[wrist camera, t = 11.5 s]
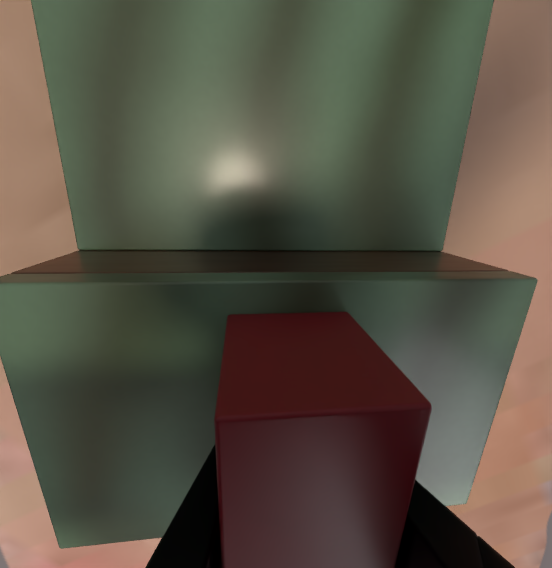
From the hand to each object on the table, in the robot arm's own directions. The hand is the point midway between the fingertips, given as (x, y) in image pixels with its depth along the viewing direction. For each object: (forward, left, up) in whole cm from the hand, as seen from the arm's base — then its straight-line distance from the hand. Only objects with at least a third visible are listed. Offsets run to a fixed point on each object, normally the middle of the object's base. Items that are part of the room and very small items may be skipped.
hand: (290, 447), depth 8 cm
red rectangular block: (0, 0, -1) cm, 1 cm away
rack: (0, -5, -9) cm, 10 cm away
